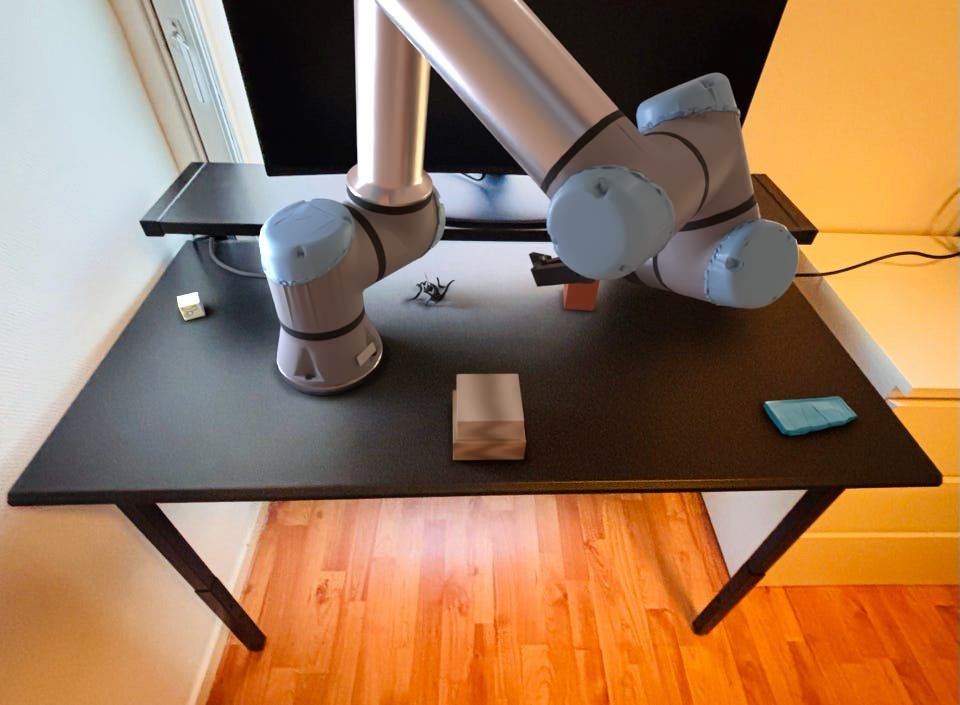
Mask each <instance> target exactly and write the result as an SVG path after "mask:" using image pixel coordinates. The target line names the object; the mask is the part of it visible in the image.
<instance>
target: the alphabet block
mask: <svg viewBox="0 0 960 705" xmlns="http://www.w3.org/2000/svg"><path fill="white" fill-rule="evenodd" d="M176 299H177V305H178V308H179V310H180V314H181V315H182V317H183V319H184V321H188V320H193V319H197V318H202V317H205V316H206V311H205V308H204V307H205V306H204V304H203V301H202V299H201V297H200V294H199V292H198V291H196V292H191V293H188V294H183V295H179V296H176Z"/></svg>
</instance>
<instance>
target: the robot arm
mask: <svg viewBox="0 0 960 705" xmlns="http://www.w3.org/2000/svg"><path fill="white" fill-rule="evenodd" d="M353 12H354V13H353V18H354V53H355V54H354V59H355V61H354V62H355V102H356V103H355V104H356V107H355V108H356V111H355V112H356V148H357V149H356V150H357V151H356V152H357V153H356V154H357V163H356V164H354V165H353V166H352V167H351V168H350V169H349V170H348V172H347V173H346V176H345V177H346V179H345V182H346V199H345V200H344V201H342V202H340V201H337V200H335V199H334V200H333V199H330V198H322V197H321V198H312V199H310V200H308V201H306V200H304V199H303V200H298V201H295V202H292V203H289V204H288V205H285V206H283V207H282V208H279V209H278V210H277V211H275V212H273V214H271V215H270V217H268V218H267V219H266V221H265V222H264V224H263V225H262V227H261V229H260V234H259V237H258V245H259V249H260V257H261V267H262V270H263V272H264V273H261V272H250V271H244V270H240V269H238V268H235V267H232V266H230V265H228V264H226V263H224V262H222V261H221V260H220V259H219V258H218V257H217V256H216V254H215V251H214V240H215V239H216V236H215V237H210V236H209V239H208V251H209V255H210V258H211V259H212V260H213V261H214V262H215V263H216V264H217V265H218V266H220V267H221V268H222V269H224V270H226V271H229V272H231V273H233V274H236V275H240V276H242V277H243V276H244V277H249V278H250V277H251V278H261V279H267V282H268V286H269V289H270V293H271V296H272V300H273V303H274V307H275V310H276V314H277V317H278V320H279V324H280V330H279V338H278V344H277V345H278V346H277V353H276V363H277V366H278V370H279V374H280V376H281V377H282V379H283V381H284V382H285V383H286V384H287V385H288V386H290V387H291V388H293V389H294V390H296V391H299V392H300V393H305V394H308V395H315V396H330V395H331V396H332V395H338V394H343V393H346V392H349V391H351V390H354V389H356V388H358V387H361V386H362V385H364V384H366V383H367V382H368V381H369V380H371V379H372V378H373V377H374V376H375V375H376V374H377V372H378V371H379V370H380V368H381V366H382V364H383V362H384V346H383V341H382V338H381V336H380V334H379V332H378V330H377V328H376V327H375V325H374V324H373V322H372V320H371V318H370V316H369V315H368V314H367V312H366V308H365V300H364V292H365V290H366V289H368V288H370V287H372V286H373V285H375V284H376V283H378V282H380V281H382V280H384V279H385V278H387V277H389V276H390V275H392V274H394V273H396V272H398V271H400V270H402V269H404V268H405V267H407V266H408V265H410V264H411V263H414V262H415V261H417V260H419V259H421V258H423V257H424V256H425V255H426V254H428V253H429V251H430V250H432V249H433V248H435V247H436V246H437V245H438V243H439V242H440V240H441V239H442V237H443V235H444V231H445V227H446V210H445V209H446V208H445V205H444V203H443V202H441V201H440V199H441V194H440V192H439V191H438V189H437V188H436V186H435V185H434V182H433V179H432V177H431V175H430V174H429V173H428V172H427V171H426V170H425V169H424V162H425V145H426V134H427V133H426V132H427V119H428V108H429V107H428V106H429V94H430V81H431V79H430V78H431V67H432V68H433V69H434V70H435V72H436V73H437V74H438V75H439V76H440V77H441V78H442V79H443V80H444V82H445V83H446V84H447V85H448V86H449V87H450V88H451V89H452V91H453V92H454V93H455V94H456V95H457V96H458V98H460V99H461V101H462V102H463V103H464V104H465V105H466V106H467V108H468V109H469V110H470V111H471V112H472V113H473V114H474V115H475V117H476V118H477V119H478V120H479V121H480V122H481V124H482V125H484V127H485V128H486V129H487V130H488V131H489V132H490V133H491V135H492V136H493V137H494V138H495V139H496V140H497V142H498V143H499V144H500V145H502V147H503V148H504V149H505V150H506V151H507V153H508V154H509V155H510V156H511V157H512V159H513V160H515V162H516V163H517V164H518V166H520V168H521V169H522V170H523V171H524V172H525V173H526V174H527V175H528V176H529V177H530V178H531V180H532V181H533V182H534V183H535V184H536V185H537V187H538V188H539V189H540V190H541V191H542V192H543V193H544V195H545V196H546V197H547V198H548V199H549V201H550V202H549V204H548V207H547V212H546V230H547V234H548V235H549V237H550V240H551V242H552V245H553V251H554V252H555V254H556V255H557V257H552V255H550V254H546V253H540V252H535V251H532V252H530V253H528V256H529V259H530V262H531V264H532V267H531V268H530V273H531V275H532V278H533V280H534V282H535V285H536V287H537V288H541V287H551V286H561V285H564V284H572V283H584V284H592V283H594V282H595V281H596V280H600V281H612V280H617V279H620V278H623V279H624V280H625V281H627V282H629V283H632V284H635V285H640V286H644V287H647V288H648V287H649V288H654V289H658V290H663V291H668V292H672V293H675V294H679V295H683V296H686V297H689V298H693V299H697V300H700V301H704V302H708V303H711V304H713V305H716V306H721V307H730V308H735V309H736V308H737V309H748V310H750V309H751V310H752V309H761V308H764V307H766V306H769V305H771V304H773V303H774V302H776V301H777V300H778V299H780V298H781V297H782V296H783V295H784V294H785V293H786V292H787V291H788V289H789V288H790V287H791V285H792V283H793V281H794V279H795V277H796V275H797V271H798V268H799V264H800V250H799V245H798V242H797V239H796V238H795V236H794V235H793V234H792V233H791V232H790V230H788V228H787V226H785V225H784V224H782V223H780V222H777V221H772V220H770V219H768V218H766V219H765V218H762V217H761V214H760V207H759V204H758V200H757V198H756V195H755V194H756V193H755V191H754V190H755V189H754V185H753V179H752V176H751V170H750V165H749V161H748V160H749V159H748V156H747V150H746V145H745V141H744V135H743V131H742V125H741V121H740V118H741V111H740V109H739V108H738V106H737V103H736V100H735V97H734V93H733V89H732V86H731V83H730V79H729V78H728V77H727V76H726V75H725V74H723V73H720V72H712V73H707V74H704V75H702V76H699V77H696V78H694V79H691V80H688V81H687V82H684V83H682V84H678V85H677V86H674V87H672V88H670V89H667V90H664V91H663V92H660V93H658V94H656V95H653V96H652V97H649V98H648V99H646V100H644V101H642V102H641V103H640V104H639V105H638V107H637V109H636V114H635V118H636V123H637V126H635V124H634V123H633V122H632V121H631V120H630V119H629V118H628V117H627V116H626V115H625V114H624V113H623V111H622V110H620V109H619V108H618V106H617V105H616V104H615V103H614V102H613V101H612V100H611V98H610V97H609V96H608V95H607V94H606V93H605V91H603V90H602V88H601V87H600V86H599V85H598V83H596V82H595V81H594V79H593V78H592V77H591V75H589V74H588V72H586V70H585V69H584V68H583V66H581V64H579V62H578V61H577V60H576V59H575V58H574V57H573V55H572V54H571V53H570V52H569V51H568V50H567V48H565V47H564V45H563V44H562V43H561V42H560V41H559V40H558V39H557V38H556V37H555V35H554V34H553V33H552V32H551V31H550V29H548V27H547V26H546V25H545V24H544V23H543V22H542V21H541V20H540V18H539V17H538V16H537V15H536V14H535V13H534V11H533V10H532V9H531V8H530V7H529V6H528V5H527V3H526V2H525V1H524V0H353Z"/></svg>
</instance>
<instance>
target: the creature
mask: <svg viewBox="0 0 960 705" xmlns="http://www.w3.org/2000/svg"><path fill="white" fill-rule="evenodd" d="M423 273H424V274H425V275H424V276H425V279H426V280H424V281H420V283H416V285H415V287H418V288H419V291H418V293H416V295H415V296H413V297H412V298H409V299H406V302H410V301H415V300H417V299H418V300H420V303H421V304H423V305H424V306H425V307H427V306H428V303H429V302H434V304H436V305H437V304H439V303H440V302H442V301H443V300H444V298H445V296H446V295H447V292H448V290H449V288H450V285H451V284H453V282H456V280H455V279H452V280H451V281H449V282H448V283H447V284H446V285H441V283H440V278H439V276H438V277H437V276H436V281H437V285H435V284H434V283H432V282H430V281H429V280H428V277H427V274H426V272H425V271H423ZM425 286H426V287H425ZM439 289H444V291H443V292H442V293H440V290H439ZM432 292H433V293H432ZM421 293H424V294H427V295H429V296H430V298H429V299H427V301H426V303H425V302H422V300H423V298H419V296H420V295H421Z"/></svg>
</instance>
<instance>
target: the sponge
mask: <svg viewBox="0 0 960 705" xmlns="http://www.w3.org/2000/svg"><path fill="white" fill-rule="evenodd" d="M763 408H764V409H765V412H766V414H767V415H768V416H769V418H770V419H771V420H772V421H773V423H774V424H775V426H776V427H777V429H779V431H780V432H781V434H782V435H787V436H790V437H792V436H800V435H806V434H809V433H810V432H817V431H821V430H826V429H827V428H828V429H829V428H832V427H839V426H840V427H841V426H844V425H846V424H847V423H851V421H853V420H855V419H856V418H857V417H858V415H857V414H856V412H855V411H854V410H853V408H851V407H850V406H849V405H848V404H847V403H846V402H845V401H844V399H843V398H842V397H840V396H828V397H816V398H804V399H803V398H799V399H782V400H771V401H770V400H768V401H764V403H763Z"/></svg>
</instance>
